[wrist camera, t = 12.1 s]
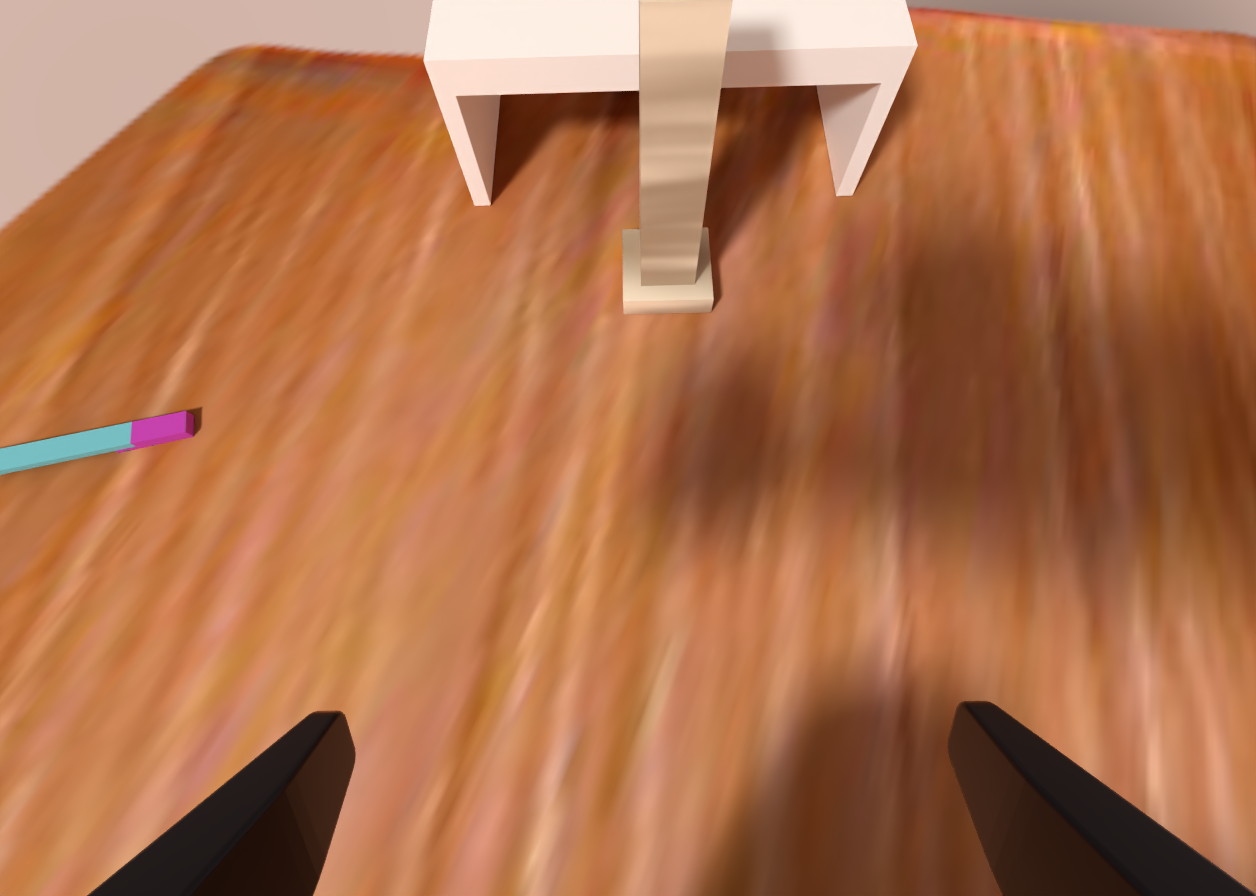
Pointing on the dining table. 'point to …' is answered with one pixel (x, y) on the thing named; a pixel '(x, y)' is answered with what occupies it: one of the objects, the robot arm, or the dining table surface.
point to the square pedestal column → (675, 155)
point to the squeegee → (98, 442)
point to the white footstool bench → (609, 61)
